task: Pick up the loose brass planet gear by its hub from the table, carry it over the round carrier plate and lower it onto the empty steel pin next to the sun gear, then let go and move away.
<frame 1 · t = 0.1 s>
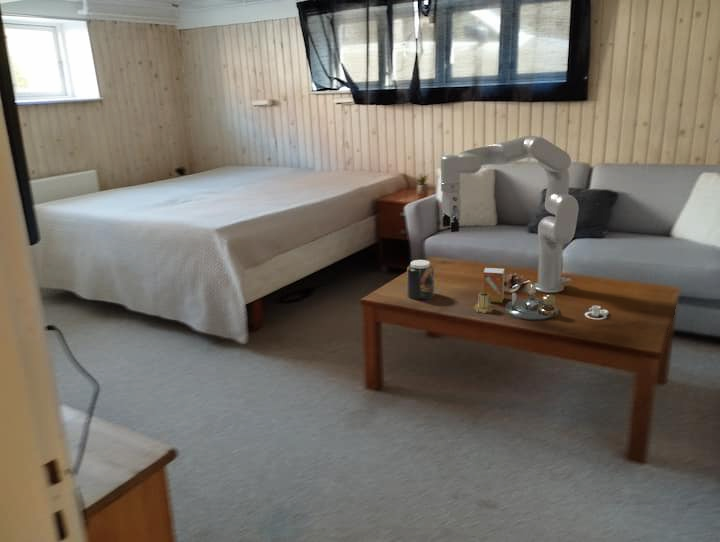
hand: (450, 228, 243), 31 cm above the table, tool pointing down, fingers open, 9 cm apart
small box: (493, 300, 251), on the table
teacup and saucer: (603, 319, 228), on the table
planet gear: (483, 309, 241), on the table
jar: (420, 295, 260), on the table
carrier: (531, 310, 238), on the table
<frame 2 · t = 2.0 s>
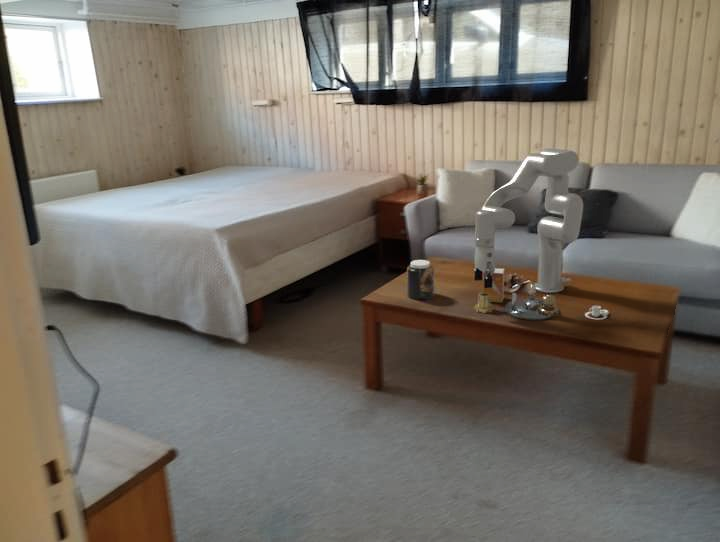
hand: (483, 283, 238), 11 cm above the table, tool pointing down, fingers open, 9 cm apart
nothing on the table moved.
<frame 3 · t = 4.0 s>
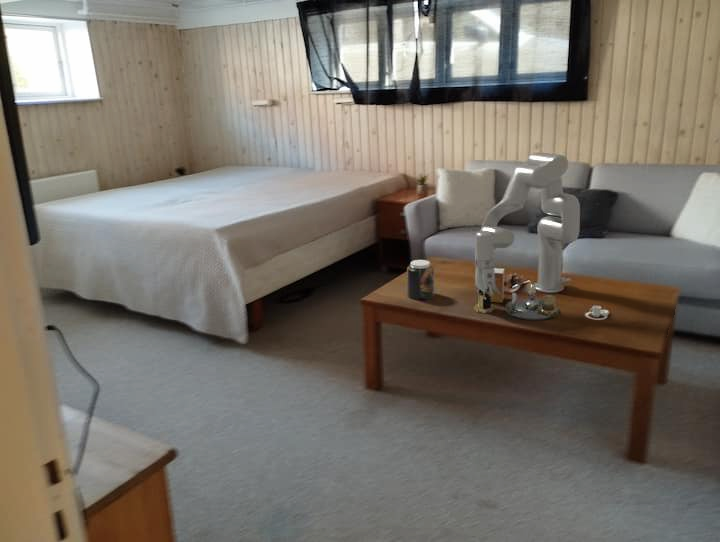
hand: (484, 305, 241), 2 cm above the table, tool pointing down, fingers closed on planet gear, 4 cm apart
planet gear: (483, 309, 241), on the table, touching gripper
everything else where it was.
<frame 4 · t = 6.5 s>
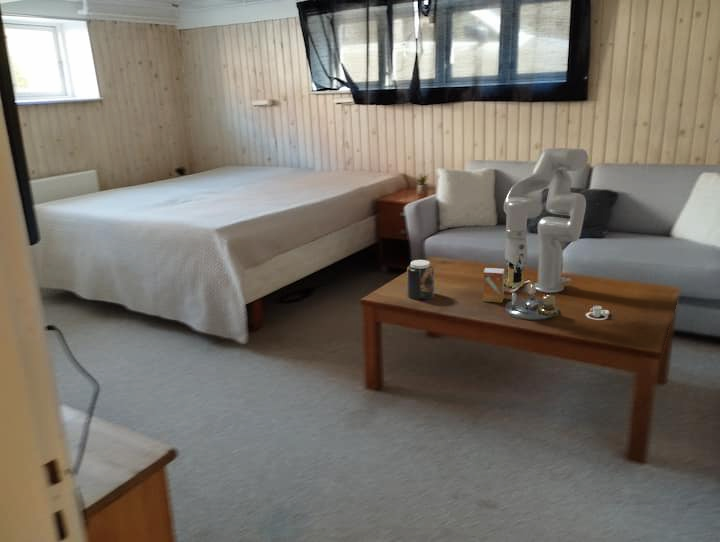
hand: (514, 279, 232), 14 cm above the table, tool pointing down, fingers closed on planet gear, 4 cm apart
planet gear: (513, 283, 232), point 12 cm above the table, touching gripper
everything else where it was.
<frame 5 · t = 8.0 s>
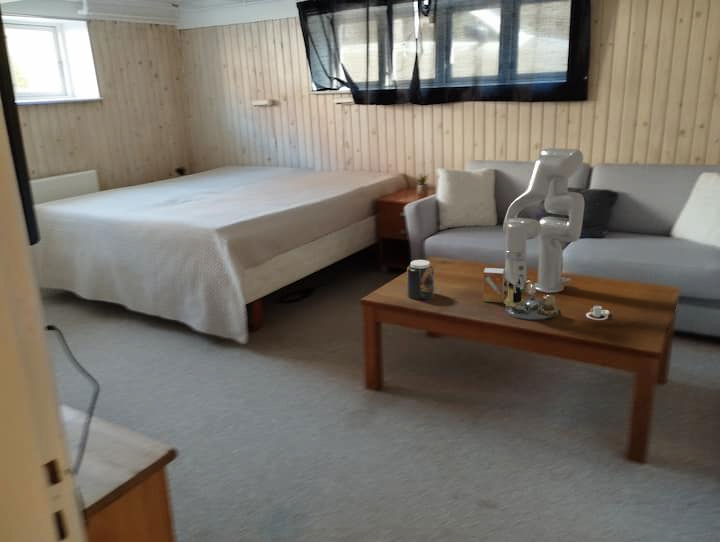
hand: (513, 298, 235), 6 cm above the table, tool pointing down, fingers closed on planet gear, 4 cm apart
planet gear: (513, 303, 235), point 4 cm above the table, touching gripper
everything else where it was.
when the fingers open (5 cm above the table, at t = 9.0 s): planet gear drops 2 cm, resting on carrier.
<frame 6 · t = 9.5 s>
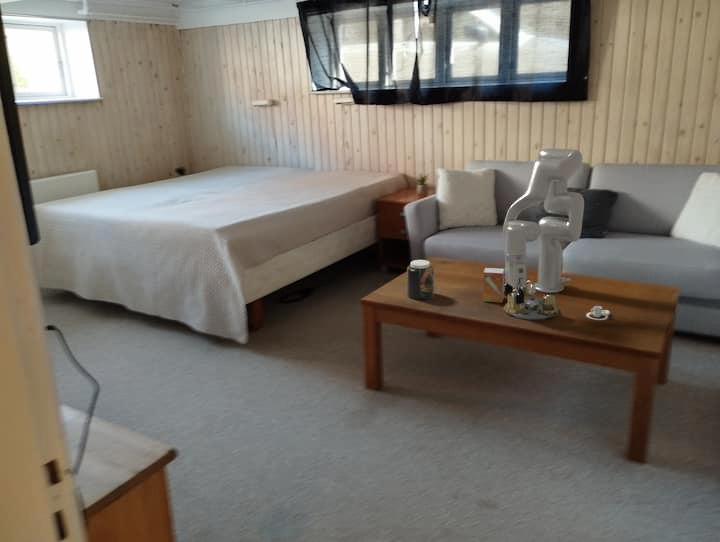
hand: (514, 299, 235), 6 cm above the table, tool pointing down, fingers open, 9 cm apart
planet gear: (513, 309, 236), point 1 cm above the table, touching carrier
everything else where it was.
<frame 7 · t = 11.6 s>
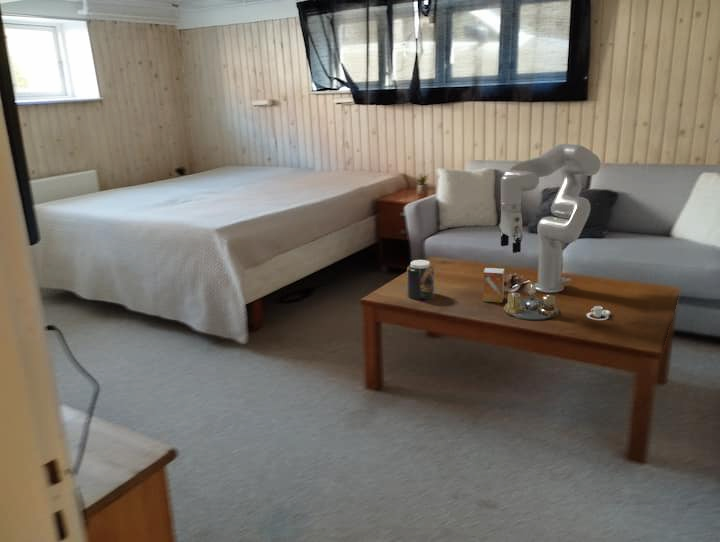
hand: (510, 248, 238), 24 cm above the table, tool pointing down, fingers open, 9 cm apart
nothing on the table moved.
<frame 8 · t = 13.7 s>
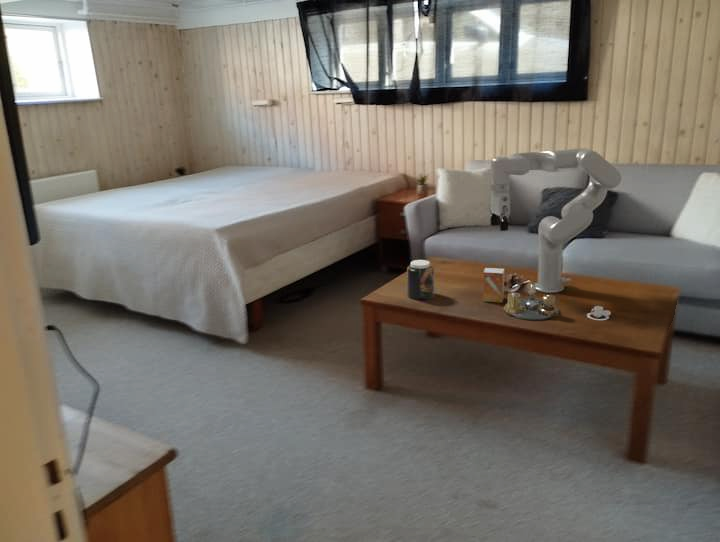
hand: (499, 227, 252), 28 cm above the table, tool pointing down, fingers open, 9 cm apart
at the end: planet gear 0.1 cm from the target spot on the carrier, point 1.2 cm above the carrier's base; planet gear tilted 0°; the gripper is holding nothing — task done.
